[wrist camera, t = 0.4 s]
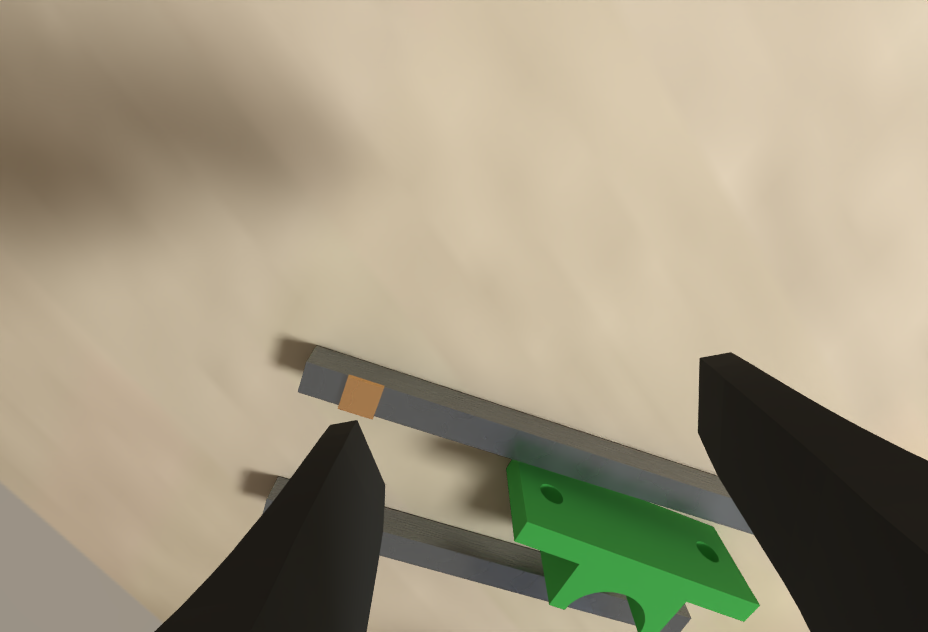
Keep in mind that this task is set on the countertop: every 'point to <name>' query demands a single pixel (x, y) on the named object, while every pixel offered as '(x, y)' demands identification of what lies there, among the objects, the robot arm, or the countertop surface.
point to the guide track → (516, 439)
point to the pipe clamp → (622, 549)
